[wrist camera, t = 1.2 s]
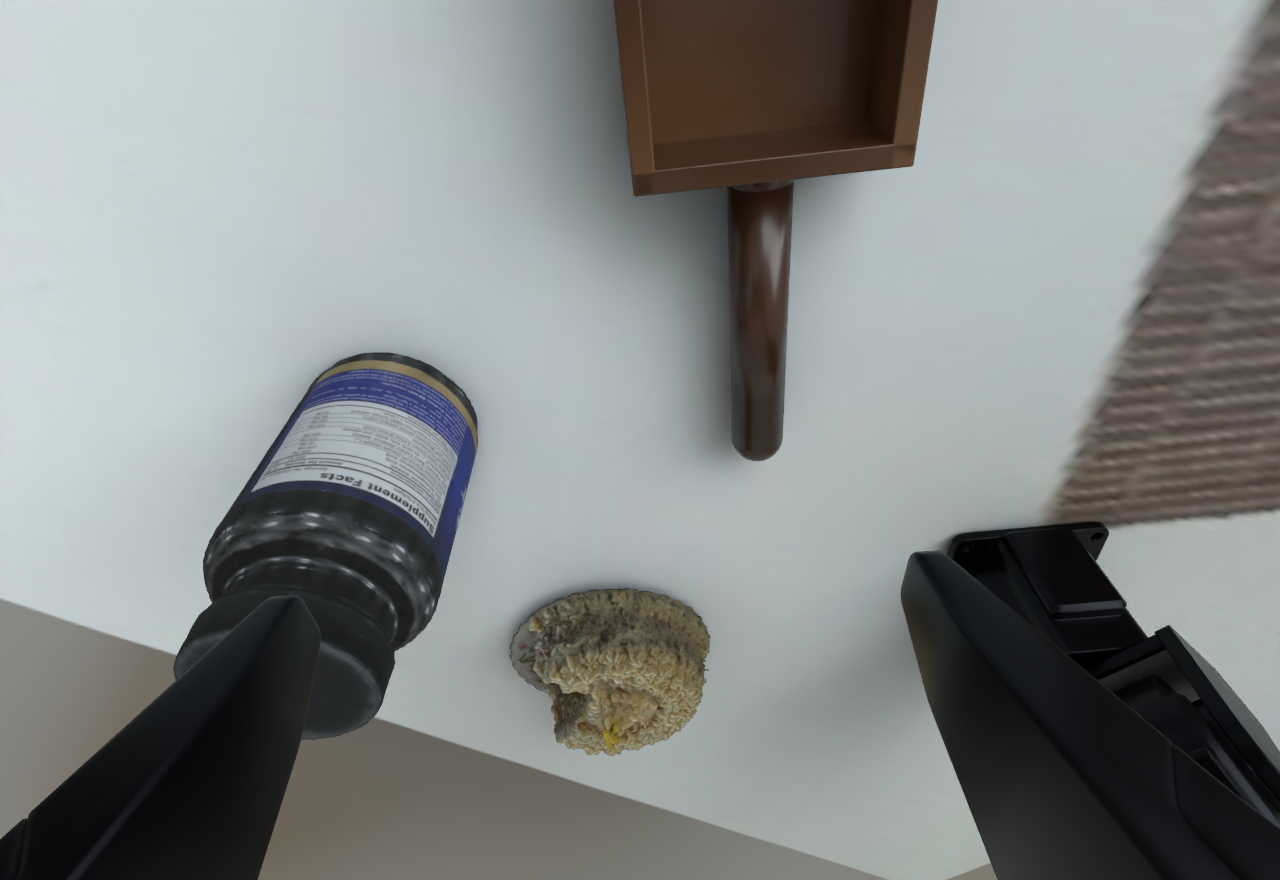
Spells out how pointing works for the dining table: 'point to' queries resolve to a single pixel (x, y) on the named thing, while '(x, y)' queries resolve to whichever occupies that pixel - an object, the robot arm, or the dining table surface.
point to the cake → (615, 666)
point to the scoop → (767, 138)
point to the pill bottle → (348, 526)
